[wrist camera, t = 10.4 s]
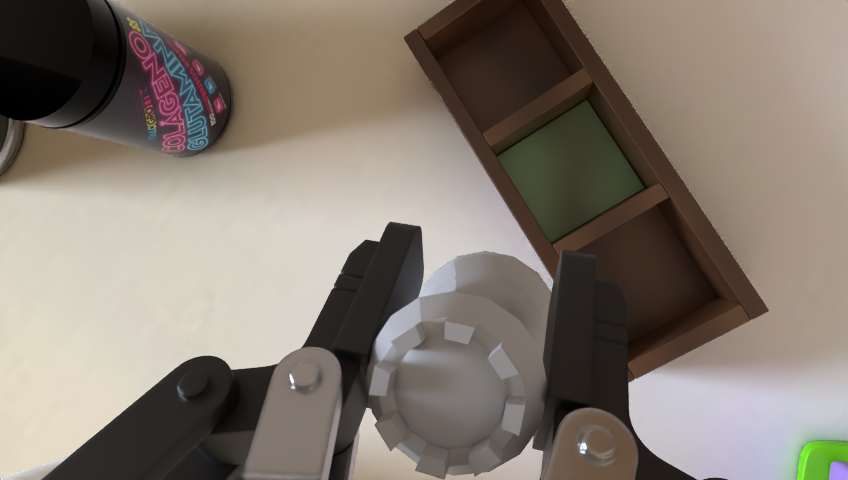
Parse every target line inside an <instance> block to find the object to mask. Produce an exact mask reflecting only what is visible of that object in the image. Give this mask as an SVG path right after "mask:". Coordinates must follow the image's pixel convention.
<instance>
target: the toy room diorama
mask: <svg viewBox="0 0 848 480" xmlns="http://www.w3.org/2000/svg"><path fill="white" fill-rule="evenodd" d="M797 480H848V442H840V441H826V440H820V441H812V442H810V443H807V444H806V445H805V446H804V447H803V449H802V451H801V454H800V458H799V463H798V472H797Z"/></svg>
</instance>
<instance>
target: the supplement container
mask: <svg viewBox="0 0 848 480" xmlns="http://www.w3.org/2000/svg"><path fill="white" fill-rule="evenodd" d="M232 112H233V93H232V88H231V85H230V82H229V79H228V77H227V75H226V73H225V72H224V70H223V69H222V67H221V66H220V65H219V64H218V63H217V62H216V61H215V60H214V59H213V58H212V57H210V56H209V55H207V54H205V53H203V52H201V51H200V50H198V49H196V48H194V47H193V46H191V45H189V44H187V43H186V42H184V41H182V40H180V39H179V38H177V37H175V36H173V35H172V34H170V33H168V32H166V31H165V30H163V29H161V28H159V27H158V26H156V25H154V24H152V23H151V22H149V21H147V20H145V19H144V18H142V17H140V16H138V15H137V14H135V13H133V12H131V11H130V10H128V9H126V8H124V7H123V6H121V5H119V4H117V3H116V2H114V1H112V0H0V114H1V115H2V116H4V117H7V118H10V119H13V120H17V121H22V122H26V123H30V124H34V125H38V126H41V127H45V128H49V129H55V130H63V131H67V132H72V133H76V134H80V135H85V136H89V137H93V138H97V139H102V140H106V141H110V142H114V143H119V144H123V145H127V146H132V147H136V148H140V149H144V150H149V151H153V152H157V153H161V154H166V155H170V156H174V157H190V156H194V155H197V154H200V153H202V152H205V151H206V150H208V149H210V148H211V147H212V146H214V145H215V144H216V143H217V142H218V141H219V140H220V139H221V137H222V136H223V135H224V133H225V131H226V130H227V128H228V125H229V123H230V120H231V117H232Z"/></svg>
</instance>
